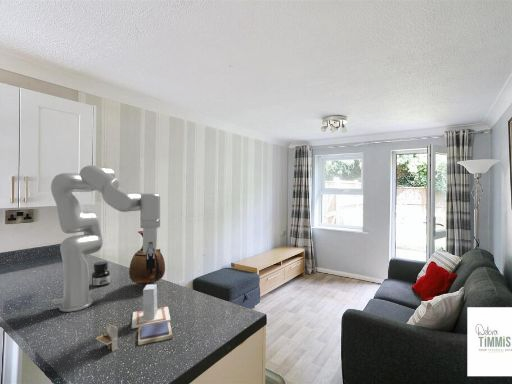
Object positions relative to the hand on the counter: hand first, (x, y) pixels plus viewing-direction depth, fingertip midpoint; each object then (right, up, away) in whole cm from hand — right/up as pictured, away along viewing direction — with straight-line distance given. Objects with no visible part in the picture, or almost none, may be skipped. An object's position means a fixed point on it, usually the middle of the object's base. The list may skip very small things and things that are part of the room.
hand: (150, 265), depth 110 cm
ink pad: (+7, -21, -13) cm, 26 cm away
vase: (-16, -22, +37) cm, 46 cm away
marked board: (0, -21, 0) cm, 21 cm away
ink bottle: (-43, -22, +40) cm, 63 cm away
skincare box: (0, -21, 0) cm, 21 cm away
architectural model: (-5, -22, -21) cm, 31 cm away
